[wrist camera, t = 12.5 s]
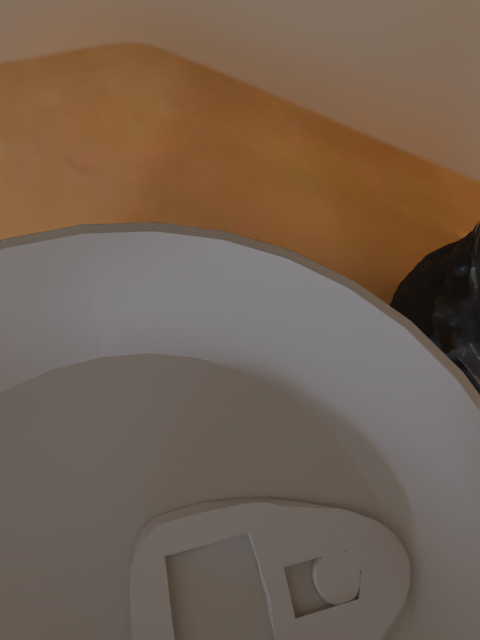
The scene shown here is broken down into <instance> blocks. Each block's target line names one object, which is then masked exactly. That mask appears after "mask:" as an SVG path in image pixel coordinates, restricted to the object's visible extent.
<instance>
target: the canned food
mask: <svg viewBox="0 0 480 640" xmlns="http://www.w3.org/2000/svg"><path fill="white" fill-rule="evenodd" d="M0 640H480V395H479V393H478V392H477V390H476V389H475V388H474V386H473V385H472V384H471V382H470V381H469V380H468V378H467V377H466V376H465V374H464V373H463V372H462V371H461V370H460V369H459V368H458V367H457V366H456V365H455V364H454V363H453V362H452V361H451V360H450V359H449V358H448V357H447V356H446V355H445V354H444V353H443V352H442V351H441V350H440V349H439V348H438V347H437V346H436V345H435V344H434V343H433V342H432V341H431V340H430V339H429V338H428V337H427V336H426V335H425V334H424V333H423V332H422V331H421V330H420V329H419V328H418V327H417V326H416V325H415V324H414V323H412V322H411V321H410V320H409V319H407V318H406V317H405V316H403V315H402V314H400V313H399V312H397V311H396V310H395V309H393V308H392V307H390V306H389V305H388V304H386V303H385V302H383V301H382V300H380V299H379V298H378V297H376V296H375V295H373V294H372V293H371V292H369V291H368V290H366V289H365V288H363V287H362V286H361V285H359V284H358V283H356V282H355V281H353V280H351V279H349V278H347V277H345V276H343V275H341V274H339V273H337V272H335V271H333V270H331V269H329V268H327V267H325V266H322V265H320V264H318V263H316V262H314V261H312V260H310V259H308V258H306V257H304V256H302V255H300V254H298V253H296V252H293V251H291V250H288V249H284V248H281V247H278V246H274V245H271V244H267V243H264V242H261V241H257V240H254V239H250V238H247V237H244V236H240V235H237V234H234V233H230V232H227V231H220V230H213V229H205V228H197V227H189V226H181V225H173V224H165V223H157V222H149V223H117V224H85V225H77V226H71V227H66V228H61V229H55V230H50V231H45V232H39V233H34V234H28V235H23V236H18V237H12V238H7V239H3V240H0Z"/></svg>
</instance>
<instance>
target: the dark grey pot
mask: <svg viewBox="0 0 480 640" xmlns="http://www.w3.org/2000/svg"><path fill="white" fill-rule="evenodd" d="M390 307H392V308H393V309H395V310H396V311H397V312H399V313H400V314H402V315H403V316H405V317H406V318H407V319H409V320H410V321H411V322H412V323H414V324H415V325H416V326H417V327H418V328H419V329H420V330H421V331H422V332H423V333H424V334H425V335H426V336H427V337H428V338H429V339H430V340H431V341H432V342H433V343H434V344H435V345H436V346H437V347H438V348H439V349H440V350H441V351H442V352H443V353H444V354H445V355H446V356H447V357H448V358H449V359H450V360H451V361H452V362H453V363H454V364H455V365H456V366H457V367H458V368H459V369H460V370H461V371H462V372H463V373H464V374H465V376H466V377H467V378H468V380H469V381H470V382H471V384H472V385H473V386H474V388H475V389H476V390H477V392H478V393H479V395H480V221H479V222H478V223H477V224H476V226H475V228H474V229H473V231H471V232H470V233H469V234H468V235H467V236H466V237H464V238H462V239H460V240H459V241H457V242H454V243H450V244H448V245H446V246H444V247H441V248H439V249H437V250H435V251H433V252H431V253H429V254H428V255H426V256H425V257H424V258H423V260H422V261H421V262H420V263H418V264H417V265H416V267H415V268H414V269H413V270H412V271H411V272H410V273H409V274H408V275H407V276H406V278H405V279H404V280H403V281H402V282H401V283H400V284H399V286H398V288H397V291H396V292H395V294H394V296H393V299H392V301H391V304H390Z"/></svg>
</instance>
